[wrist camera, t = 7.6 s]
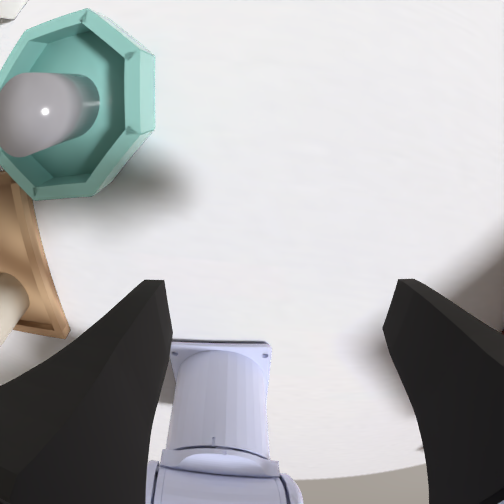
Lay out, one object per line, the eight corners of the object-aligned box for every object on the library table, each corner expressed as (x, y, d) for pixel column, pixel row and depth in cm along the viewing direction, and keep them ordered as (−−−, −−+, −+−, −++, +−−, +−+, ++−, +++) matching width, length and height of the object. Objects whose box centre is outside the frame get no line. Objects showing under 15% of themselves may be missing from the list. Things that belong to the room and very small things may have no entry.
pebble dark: (98, 138, 15) (51, 156, 11) (45, 140, 15) (-7, 158, 10) (102, 71, 13) (55, 66, 9) (47, 77, 13) (-6, 80, 9)
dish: (157, 180, 17) (144, 194, 15) (23, 191, 17) (1, 204, 14) (157, 8, 12) (143, -5, 10) (15, 47, 12) (-9, 46, 10)
